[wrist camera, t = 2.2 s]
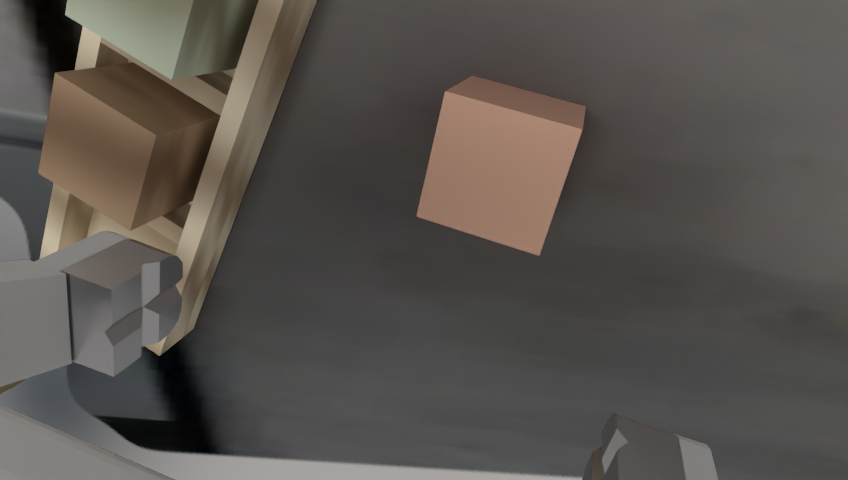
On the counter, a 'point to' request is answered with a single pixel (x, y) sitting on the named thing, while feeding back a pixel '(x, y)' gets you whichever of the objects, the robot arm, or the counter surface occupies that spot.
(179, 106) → the block rack
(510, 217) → the terracotta cube
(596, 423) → the counter surface
